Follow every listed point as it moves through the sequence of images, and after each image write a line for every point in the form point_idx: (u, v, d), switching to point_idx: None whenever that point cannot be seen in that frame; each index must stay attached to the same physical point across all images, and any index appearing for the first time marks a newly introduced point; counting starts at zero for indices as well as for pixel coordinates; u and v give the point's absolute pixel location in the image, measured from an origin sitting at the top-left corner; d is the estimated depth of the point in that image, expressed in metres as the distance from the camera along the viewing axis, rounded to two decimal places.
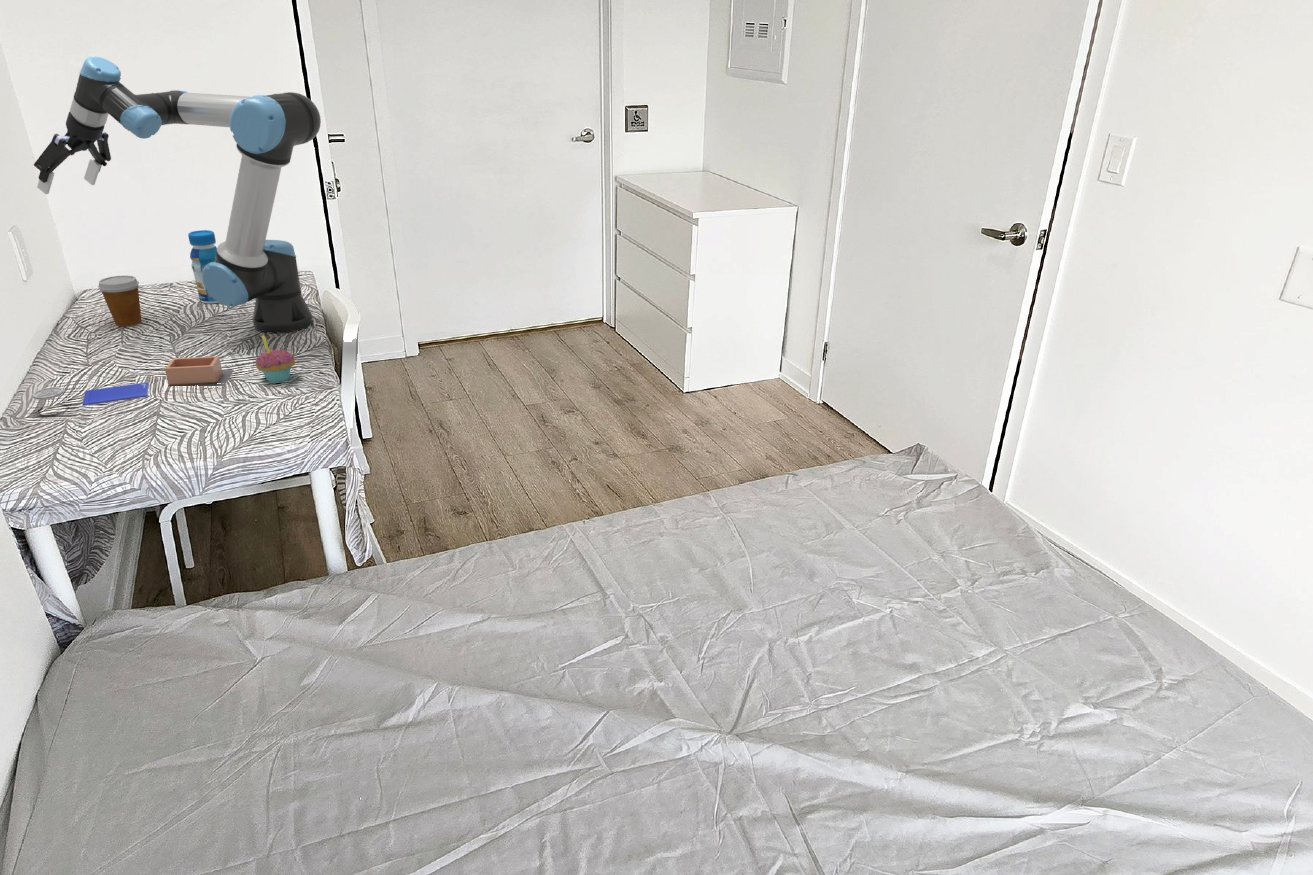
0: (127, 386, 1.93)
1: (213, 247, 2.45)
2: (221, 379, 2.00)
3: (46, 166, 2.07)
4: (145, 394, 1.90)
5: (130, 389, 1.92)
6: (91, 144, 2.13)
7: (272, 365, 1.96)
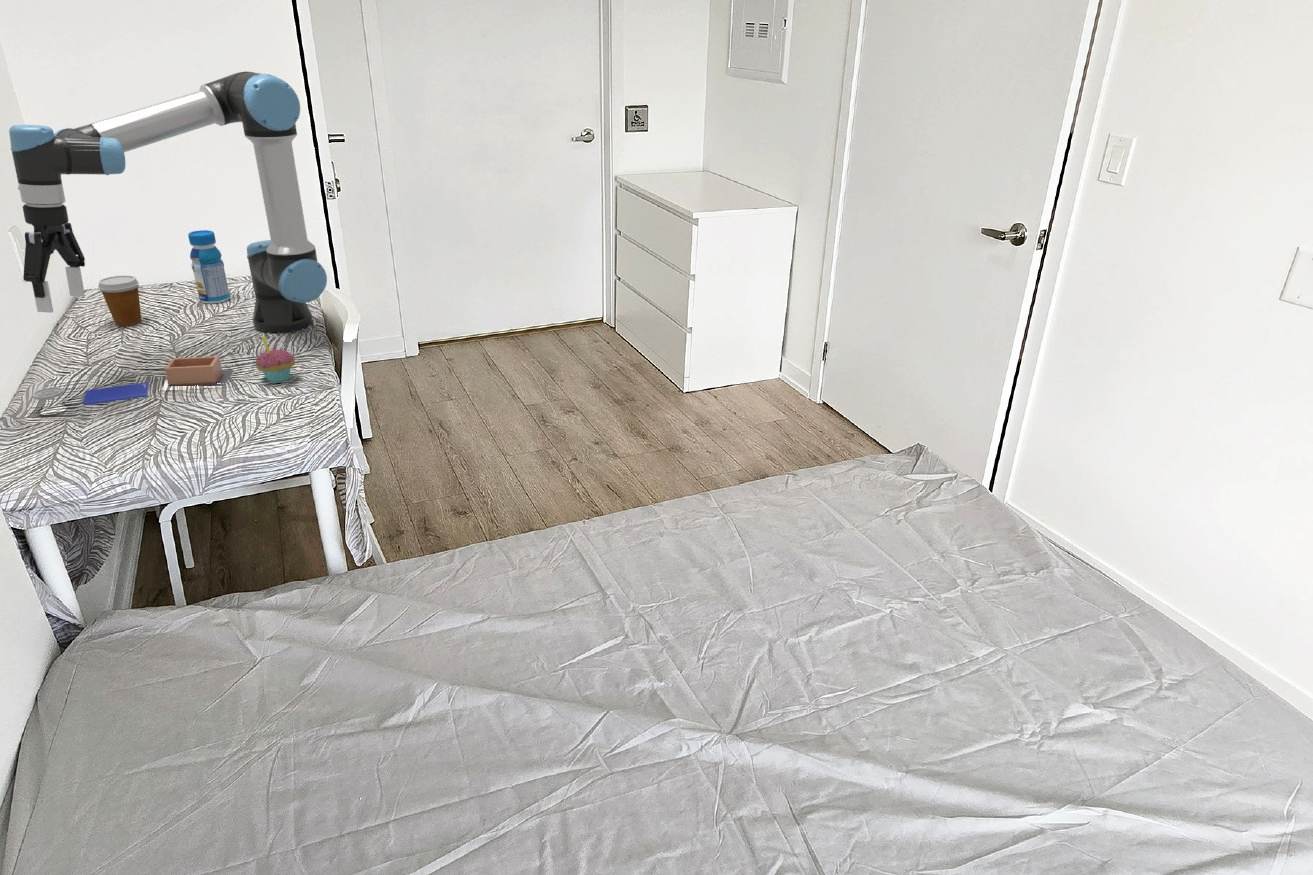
0: (127, 386, 1.93)
1: (213, 247, 2.45)
2: (221, 379, 2.00)
3: (37, 272, 1.74)
4: (145, 394, 1.90)
5: (130, 389, 1.92)
6: (63, 235, 1.81)
7: (272, 365, 1.96)
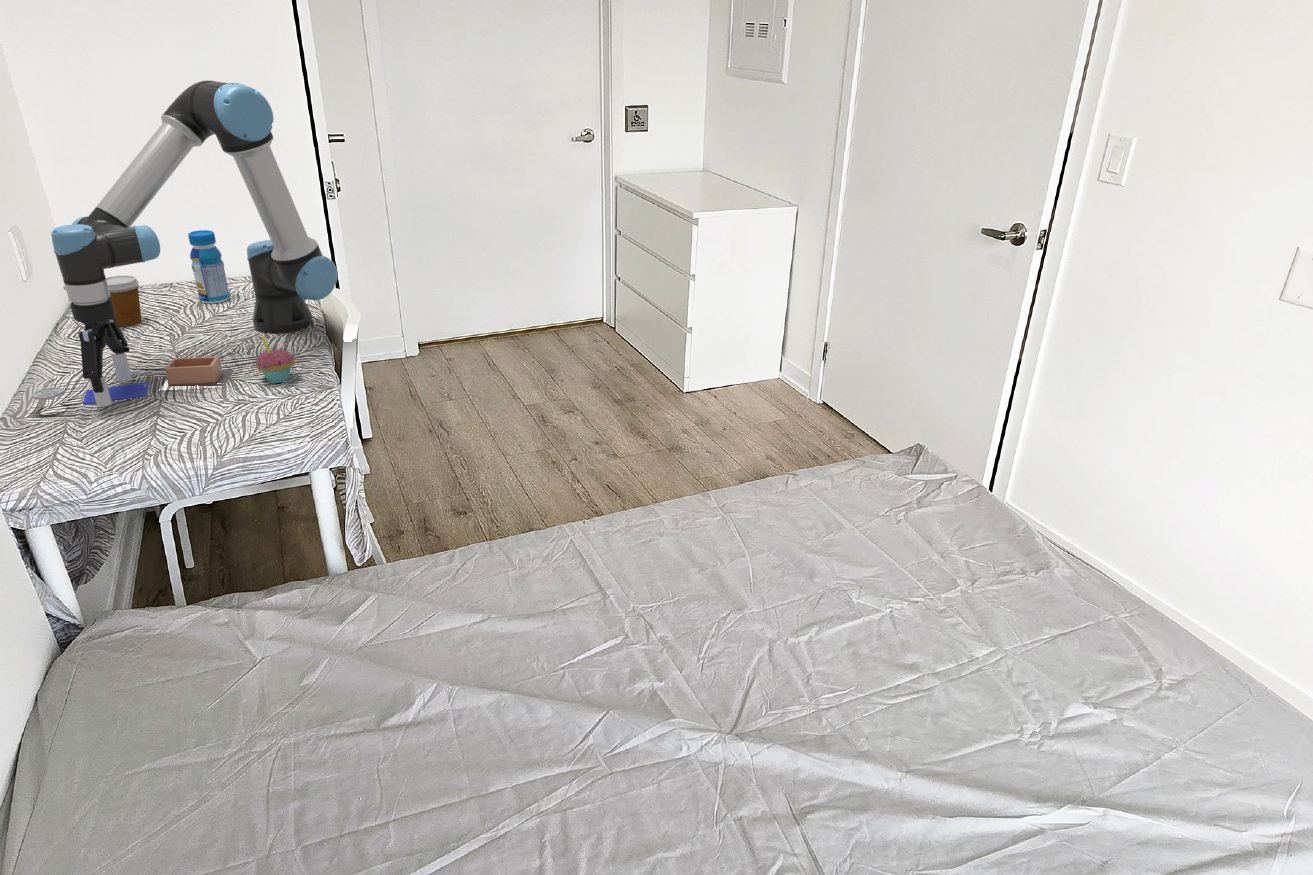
0: (128, 386, 1.93)
1: (213, 247, 2.45)
2: (221, 379, 2.00)
3: (96, 369, 1.78)
4: (145, 394, 1.90)
5: (130, 389, 1.92)
6: (110, 327, 1.85)
7: (272, 365, 1.96)
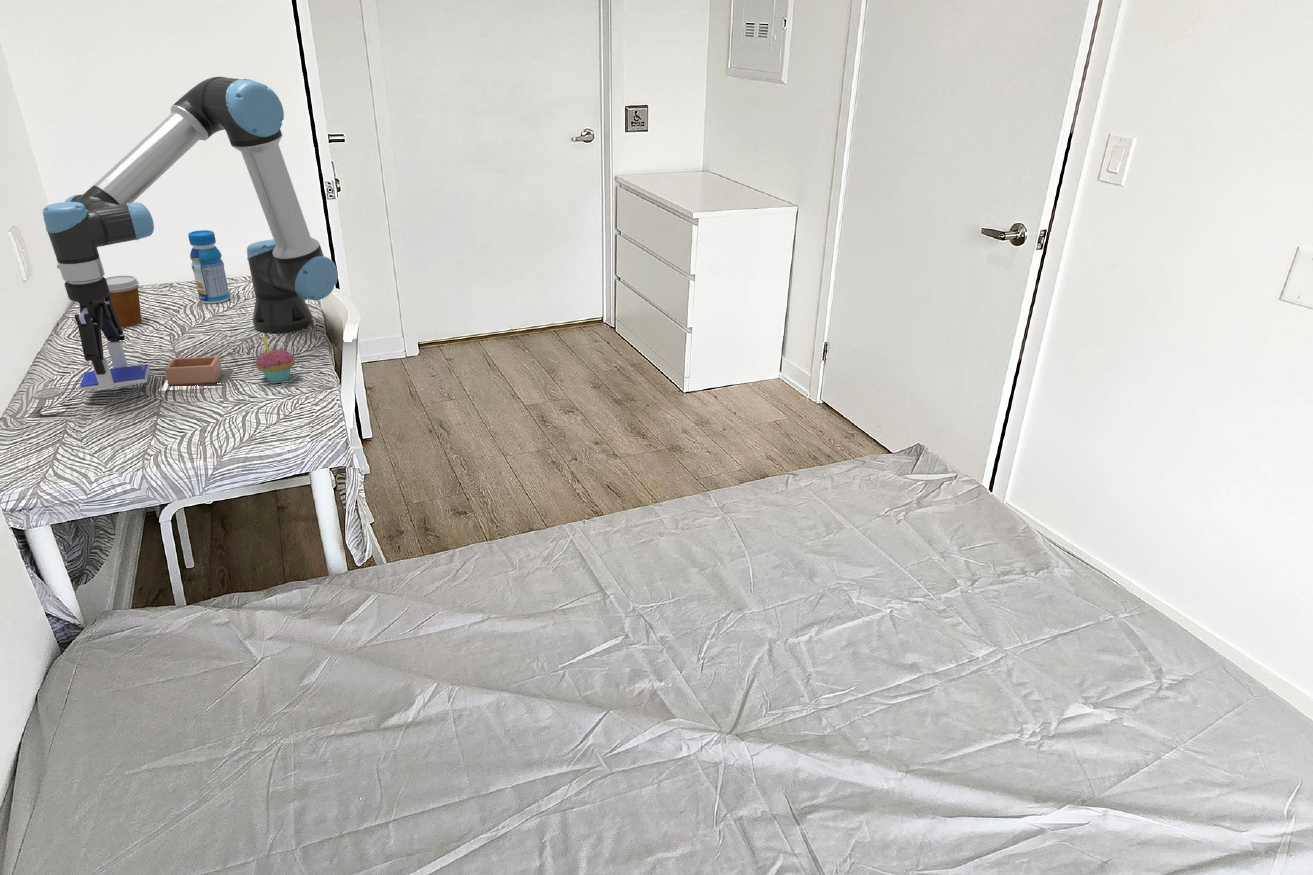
0: (126, 368, 1.92)
1: (213, 247, 2.45)
2: (221, 379, 2.00)
3: (96, 351, 1.79)
4: (143, 376, 1.88)
5: (128, 371, 1.90)
6: (105, 306, 1.83)
7: (272, 365, 1.96)
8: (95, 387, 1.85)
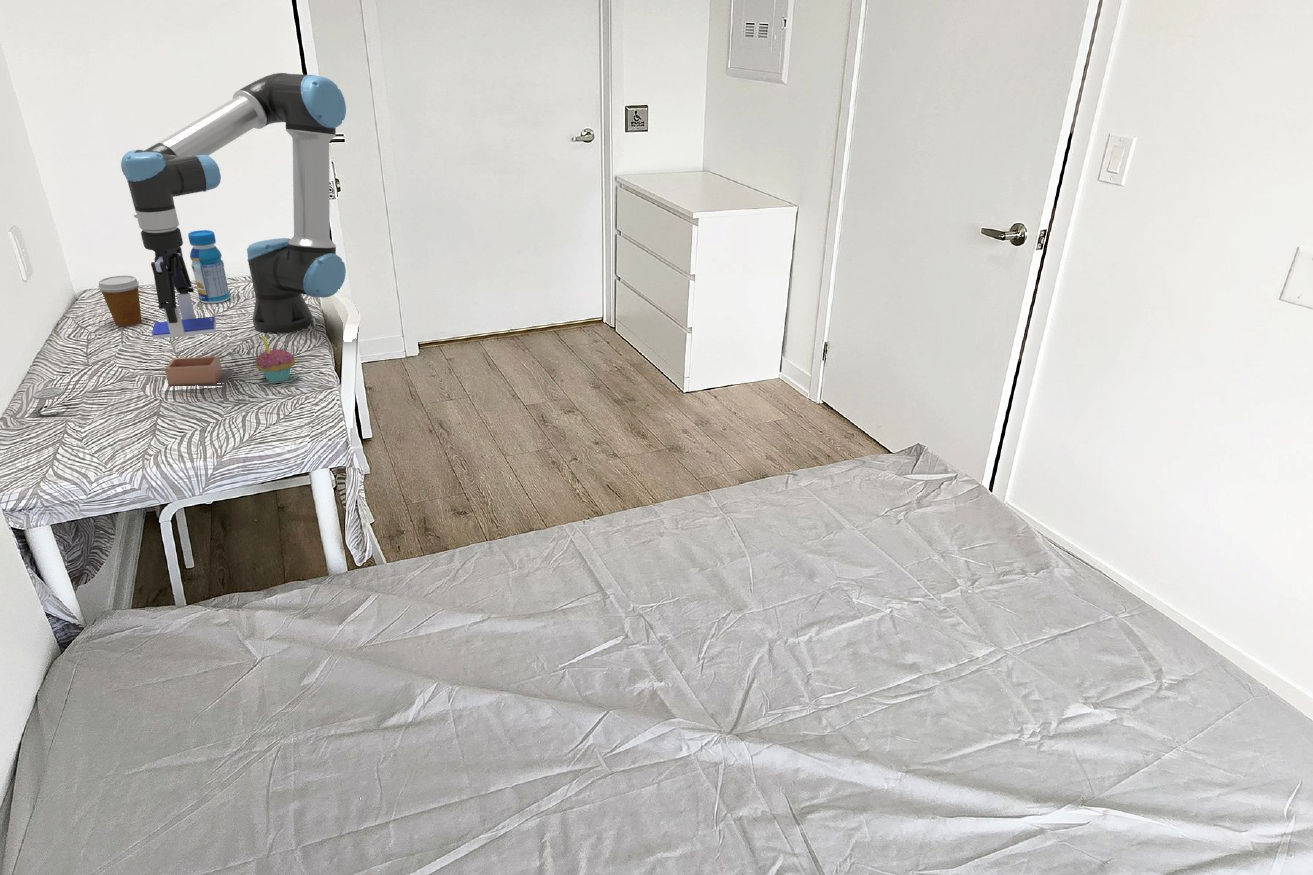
0: (194, 319, 1.96)
1: (213, 247, 2.45)
2: (221, 379, 2.00)
3: (170, 299, 1.83)
4: (212, 326, 1.92)
5: (197, 322, 1.94)
6: (178, 257, 1.87)
7: (272, 365, 1.96)
8: (166, 336, 1.89)
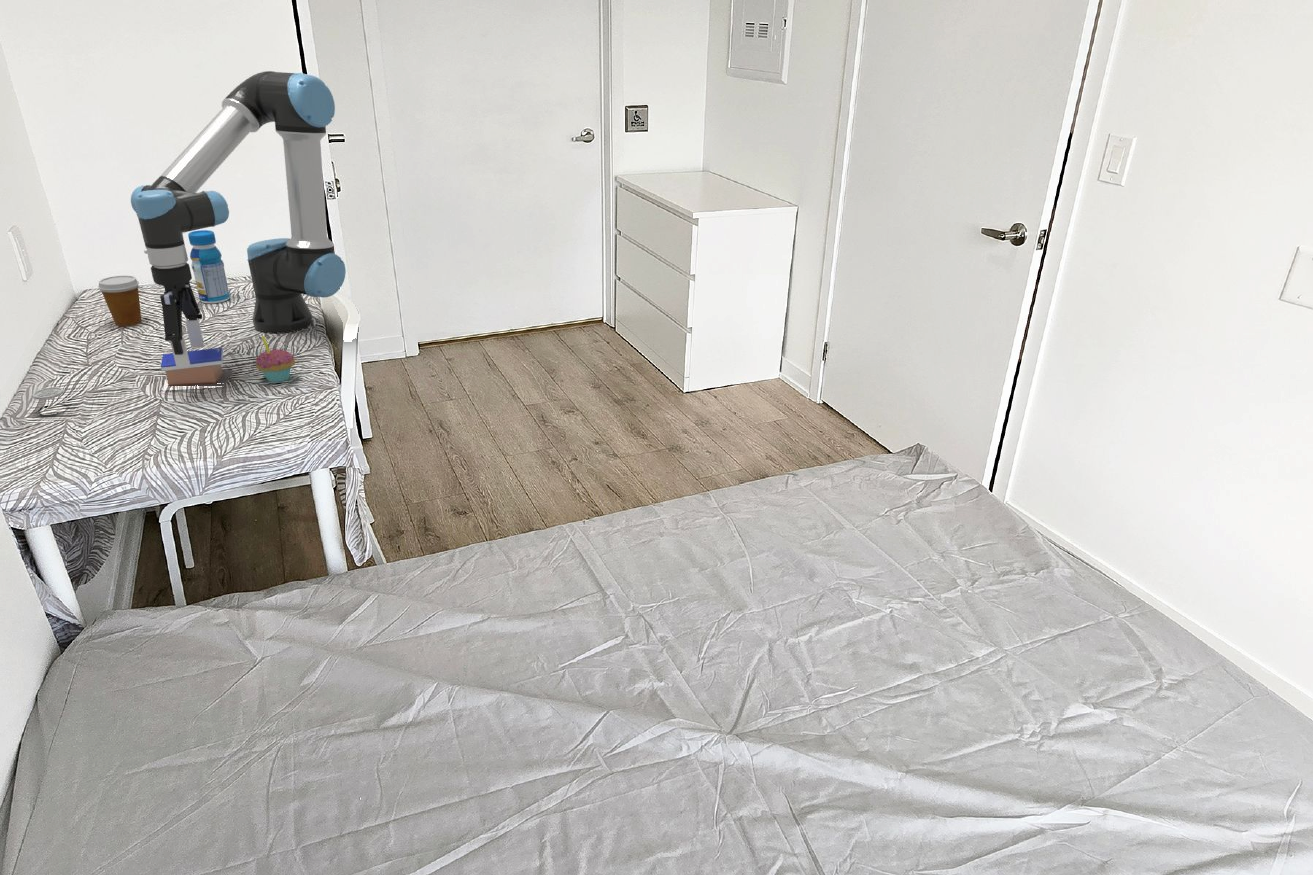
0: (202, 351, 1.99)
1: (213, 247, 2.45)
2: (221, 379, 2.00)
3: (177, 331, 1.85)
4: (219, 358, 1.95)
5: (205, 353, 1.97)
6: (187, 291, 1.91)
7: (272, 365, 1.96)
8: (175, 368, 1.92)
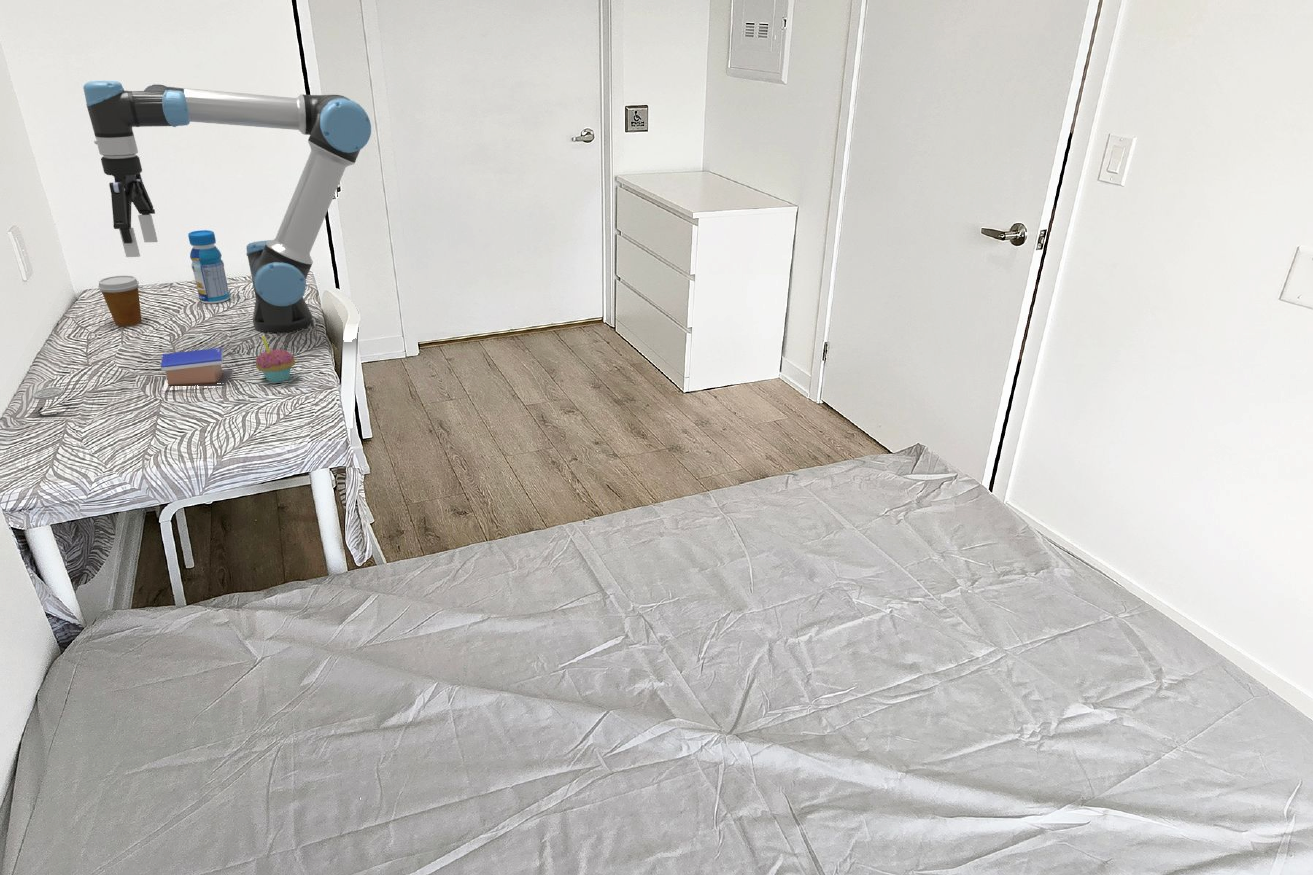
0: (202, 351, 1.99)
1: (213, 247, 2.45)
2: (221, 379, 2.00)
3: (125, 219, 1.89)
4: (219, 358, 1.95)
5: (205, 353, 1.97)
6: (137, 184, 1.96)
7: (272, 365, 1.96)
8: (175, 368, 1.92)
